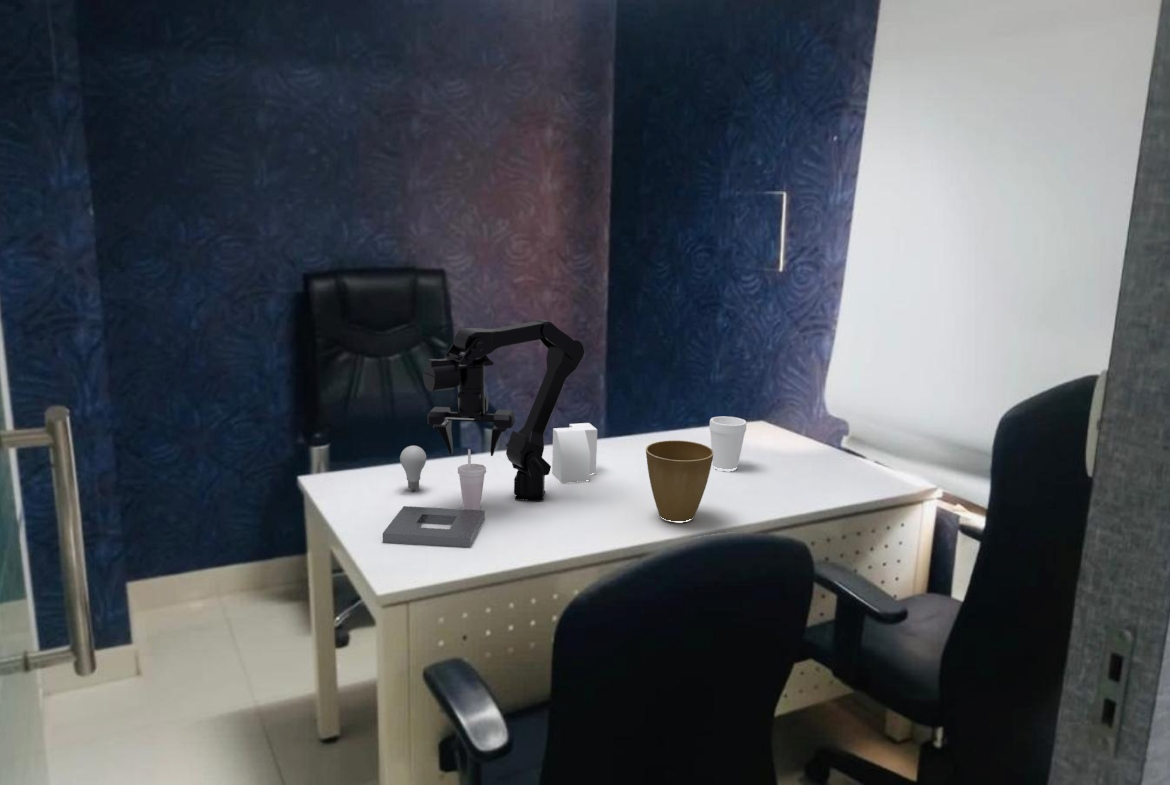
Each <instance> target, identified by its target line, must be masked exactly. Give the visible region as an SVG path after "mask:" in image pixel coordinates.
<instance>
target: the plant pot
mask: <svg viewBox="0 0 1170 785" xmlns="http://www.w3.org/2000/svg"><path fill="white" fill-rule="evenodd" d="M713 454H714V452H713V450H712V447H710V446H708V445H705V444H702V443H700V442H695V441H688V440H679V439H678V440H676V439H674V440H671V439H670V440H661V441H655V442H652V443H650V444H648V445H647V446H646V448H645V455H646V456H645V457H646V464H647V470H648V478H649V483H650V487H651V492H652V496H653V499H654V502H655V506H656V509H657V513H658V515H659V517H660V516H661V517H662V518H664V519H666V520H671V521H686V520H689V519H692V518H693V517H695V515H696V513H697V511H698V510H699V507H700V504H701V501H702V498H703V496H704V493H705V490H706V486H707V484H708V481H709V478H710V477H709V476H710V473H711V469H712V465H713V461H712V459H713ZM693 519H694V518H693Z"/></svg>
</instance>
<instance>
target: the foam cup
mask: <svg viewBox="0 0 1170 785" xmlns="http://www.w3.org/2000/svg"><path fill="white" fill-rule="evenodd" d="M709 431H710V443H711V447H710V448H711V449H712V450H713V452H714V454H713V459H712V467H713V466H715V467H717V468H722V469H733V468H736V467H737V466H738V467H739V461H740V459H741V458H740V457H741V452H742V449H743V443H744V439H745V434H746V431H747V421H746V420H745V419H743V418H739V417H736V416H723V415H722V416H714V417H711V418H710V420H709ZM738 467H737V468H738Z"/></svg>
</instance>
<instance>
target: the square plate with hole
mask: <svg viewBox="0 0 1170 785" xmlns="http://www.w3.org/2000/svg"><path fill="white" fill-rule="evenodd" d="M485 513H486V512H485V509H484V510H466V509H464V508H446V507H444V508H443V507H428V506H427V507H426V506H412V505H410V506H408V505H407V506H406V505H405V506H403V507H402V508H401V509H400V510H399V511H398V513H397V514H396V515H395V517H394V518H393V519H392V520H391V522H390V523H389V524H388V526H387V527H386V528H385V529H384V531H383V532H382V543H386V544H398V545H399V544H401V545H417V544H421V545H420V546H437V547H439V546H440V547H451V548H452V547H453V548H455V547H456V548H471V547H472V545H473V543H474V540H475V539H476V537H477V535H478V533H479V531H480V529H481V527H482V525H483V523H484V521H485ZM423 524H437V525H450V528H439V527H438V528H436V527H435V528H434V527H421V526H422V525H423Z"/></svg>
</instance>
